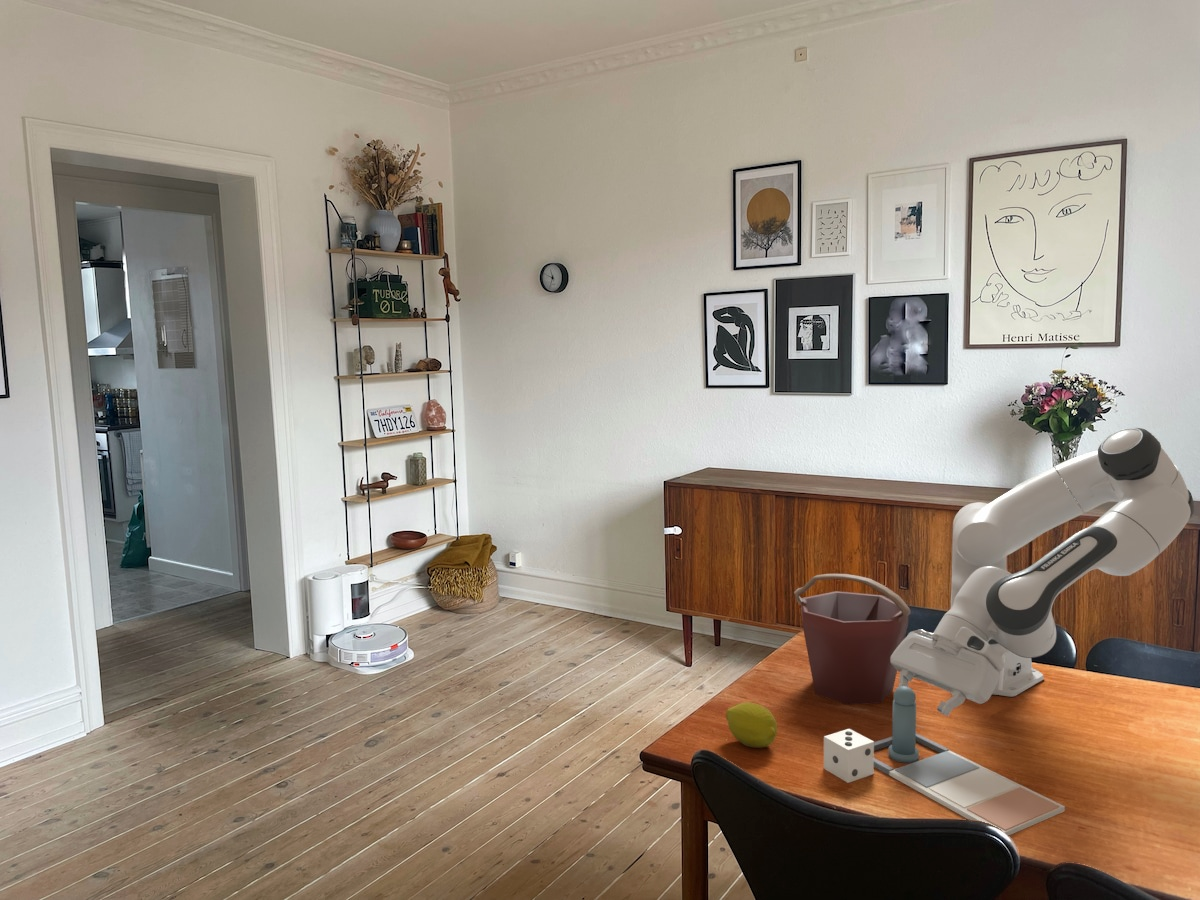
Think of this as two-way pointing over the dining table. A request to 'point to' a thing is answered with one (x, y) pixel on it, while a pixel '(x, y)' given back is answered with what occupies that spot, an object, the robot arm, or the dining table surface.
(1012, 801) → the game board
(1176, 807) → the dining table surface
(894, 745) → the pawn
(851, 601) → the bucket
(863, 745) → the die
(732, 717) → the lemon
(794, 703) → the dining table surface
